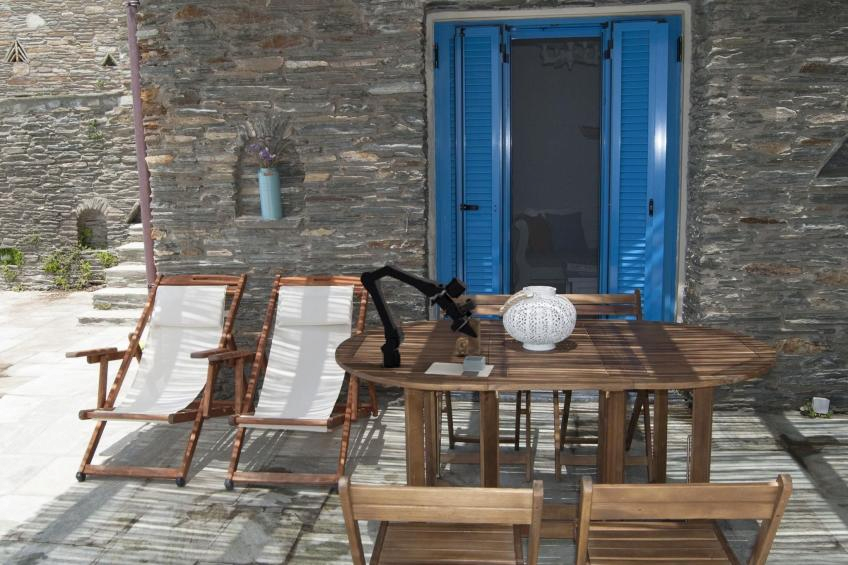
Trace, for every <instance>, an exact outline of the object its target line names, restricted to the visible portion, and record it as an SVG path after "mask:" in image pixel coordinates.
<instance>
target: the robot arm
mask: <svg viewBox="0 0 848 565" xmlns="http://www.w3.org/2000/svg"><path fill="white" fill-rule="evenodd" d="M385 277H390V278H393V279H394V280H397V281H400V282H402V283H404V284H406V285H409V286H411V287H413V288H415V289H416V290H417V291H418V292H420V293H421V294H422V295H424V296H426V297H427V298H431V299H430V307H434V306H435V305H437V306H438V307H439V308H440V310H441V311H442V312H444V316H445V317H448V318H449V319H450V320H452V324H451V325H450V330H451V331H452V333H455V332H459V333H462V334H465V335H467V336H468V335H469V336H471V337H473V338H477V337H478V336H477V334H476V333H475V332H474V330H473V329H472V328H471V326H470V320H468V319H469V318H474V314H475V312H474V310H475V309H476V308H477V307H478V306H477V303H476V300H475V299H474V298H472V297H469V298H466V299H465V302H463V303H462V304H461V303H460V302H456V301H455V300H454V299H456V300H457V299H459V298H460V297H461V296H462V295H463V294H464V293H465V292H466V291H467V290H469V287H468V286H467V284H466V283H465V282H464V281H463V280H461V279H460V278H458V277H457V276H454V277H453V278H452V279H451V280H450V281H449V282H448V283H447V284H444V283H440V282H439V281H437V280H435V279H430V278H424V277H419V276H418V275H415V274H414V273H411V272H408V271H406V270H404V269H402V268H399V267H397V266H395V265H393V264H391V263H388V264H386V265H384V266H381V267H380V268H378V269H376V270H375V269H369V270H366V271H364V272H362V274H360V278H359V280H360V283H361V284H362V286H363V288H364V289H365V290H366V291H367V293H368V294H369V295H370V297H371V299H372V302H373V305H374V306H375V309H376V311H377V314H378V316H379V319H380V321H381V323H382V326H383V331H384V332H383V333H384V336H383V337H384V340H385V343H384V344H382V345H381V346H380V351H381V354H382V356H381V357H382V362H381V365H382V367H383V366H384V367H390V368H401V364H402V363H401V362H402V360H401V353H400V350H399V349H400V346H401V345H403V343H404V341H405V335H406V334H405V333H404V330H403V327H402V325H399V326H398V325H397V324H396V323H395V321H394V319H393V316H392V314H391V311H390V309H389V306H388V304H387V301H386V299H385V296H384V294H383V292H382V285H381V284H382V283H381V279H382V278H385ZM443 292H444V293H443ZM435 296H436V297H435ZM433 297H435V298H433ZM384 367H383V368H384Z"/></svg>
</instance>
